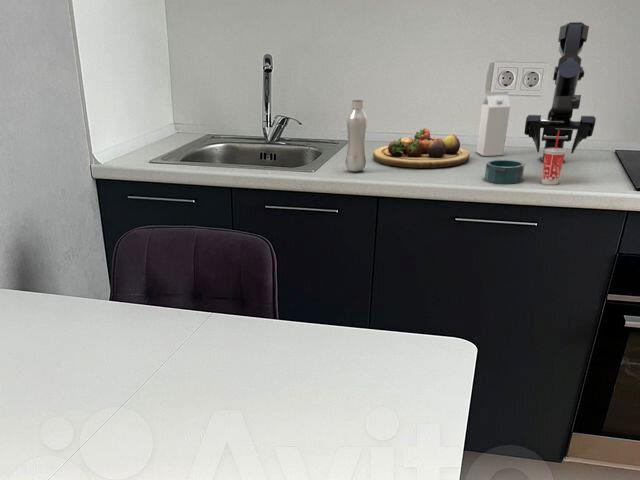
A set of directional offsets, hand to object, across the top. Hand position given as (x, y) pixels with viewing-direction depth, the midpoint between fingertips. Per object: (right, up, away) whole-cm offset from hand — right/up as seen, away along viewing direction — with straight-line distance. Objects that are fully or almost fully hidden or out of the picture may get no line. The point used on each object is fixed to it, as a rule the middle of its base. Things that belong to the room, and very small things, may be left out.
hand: (555, 151), depth 208 cm
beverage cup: (0, -7, +5) cm, 9 cm away
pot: (-12, -4, +10) cm, 16 cm away
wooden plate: (-31, +14, +37) cm, 50 cm away
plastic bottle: (-55, +4, +24) cm, 60 cm away
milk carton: (-7, +18, +42) cm, 46 cm away
